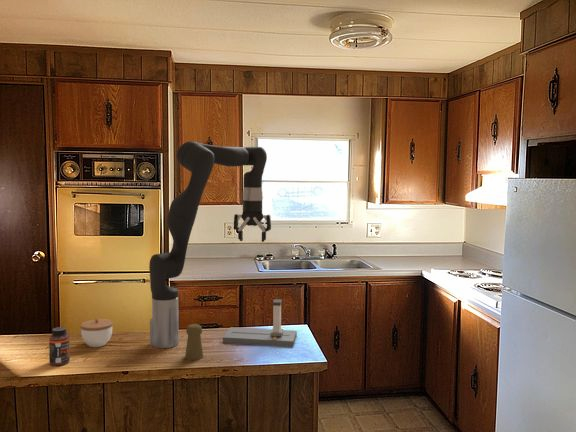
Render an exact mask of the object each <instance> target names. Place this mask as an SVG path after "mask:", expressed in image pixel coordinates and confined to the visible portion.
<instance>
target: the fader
mask: <svg viewBox="0 0 576 432" xmlns="http://www.w3.org/2000/svg"><path fill="white" fill-rule="evenodd" d="M282 304H283V299H273V301H272V306H273V308H272V309H273V311H272V314H273V315H272V316H273V317H272V318H273V319H272V320H273V321H272V331H271V336H282V334H283V330H284V329H283V328H282Z"/></svg>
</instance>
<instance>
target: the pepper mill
mask: <svg viewBox="0 0 576 432" xmlns="http://www.w3.org/2000/svg"><path fill="white" fill-rule="evenodd" d="M202 328H203V327H202V325H200V324H198V323H193V324H189V325H187V326H186V331H185V332H186V335H187V339H186V341H187V342H186V348H185V349H186V350H185V355H184V356H185V357H184V358H185V359H186V360H188V361H200V360H201V359H202V358H204V352H203V350H204V349H203V344H202V343H203V342H202V338H201V337H202V336H201V334H202V332H203V329H202Z"/></svg>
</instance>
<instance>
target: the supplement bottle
mask: <svg viewBox="0 0 576 432" xmlns="http://www.w3.org/2000/svg"><path fill="white" fill-rule="evenodd" d="M48 344H49V345H48V347H49V348H48V349H49V350H48V351H49V353H48V354H49V356H48V357H49V358H48V359H49V365H51V366H54V367H55V366H56V367H58V366H59V367H60V366H63V365H67V364H68V363H69V362H70V356H71V355H70V354H71V353H70V352H71V351H70V348H71V347H70V334H68V333H67V328H66V327H64V326H59V327H54V328H52V329H51V335H50V336H49V338H48Z"/></svg>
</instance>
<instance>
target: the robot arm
mask: <svg viewBox="0 0 576 432" xmlns="http://www.w3.org/2000/svg"><path fill="white" fill-rule="evenodd" d="M267 158H268V155H267V151H266V150H265V148H263V147H262V146H245V147H244V146H243V147H241V146H218V145H211V144H206V143H201V142H197V141H191V140H190V141H186V142H183V143H182V144H181V145H180V146H179V147H178V149H177V152H176V160H177V163H178V164H179V165H180V166H182V167H183V168H184V169H186V170H187V171H189V172H191V173H190V179H189V181H188V185H187V186H186V188H185V189H184V190H183V191H181V192H180V193H179V194H178V195H177V196H176V197H175V198H174V199H173V200H172V201H171V203H170V204H169V205H170V206H169V208H168V209H169V210H168V213H167V217H166V226H167V228H168V231H169V233H170V235H171V238H172V247H171V250H170V251H169V252H164V253H163V252H162V253H155V254H153V255H151V258H150V259H149V267H148V268H149V281H150V284H149V285H150V292H151V319H149V347H150V346H151V347H154V348H157V349H168V348H174V347H175V346H178V345H179V338H180V337H179V334H180V333H179V328H180V327H179V289H178V288H177V287H175V286H169V285H167V283H166V280H167V279H174V278H178V277H179V276H180V275H181V274H182V273H183V270H184V266H185V261H186V256H187V250H188V245H189V242H190V236H191V234H192V231H193V226H194V225H195V221H196V217H197V213H198V209H199V206H200V203H201V199H202V197H203V193H204V191H205V189H206V186H207V184H208V180H209V178H210V175H211V173H212V171H213V168H214V164H215V165H220V166H222V167H223V166H225V167H242V166H252V168H251V170H250V171H246V172H245V173H244V175H243V190H242V212H241V214H238V213H235V214H234V215H233V216H234V217H233V218H234V219H233V230H235V231H237V232H238V233H237V234H238V235H237V236H238V237H237V238H238V240H239V241H240V242H242V241H243V239H244V237H243V236H244V232H243V230H244V229H245V228H246V226H249V227H251V226H253V227H257V226H258V227H259V229H260V230H261V231H262V232H261V242H262V243H264V242H265V241H266V239H267V232H269V231H271V230H272V223H271V221H272V220H271V214H265V215H264V214H263V199H264V198H263V197H264V196H263V175H264V171H265V167H266V164H267ZM241 219H242V221H243V222H242V223H241V225H239V220H241ZM263 219H264V221H266V227H265V226H264V224H263V222H262V220H263Z"/></svg>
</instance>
